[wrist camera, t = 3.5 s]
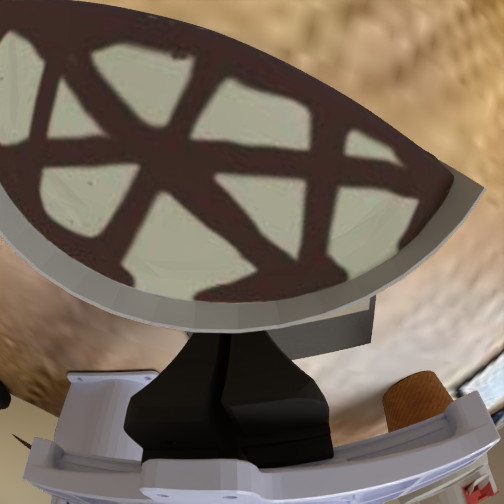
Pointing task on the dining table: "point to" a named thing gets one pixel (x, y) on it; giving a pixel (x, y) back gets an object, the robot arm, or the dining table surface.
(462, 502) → the citrus juicer
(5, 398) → the tape measure
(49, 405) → the dining table surface
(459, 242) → the dining table surface
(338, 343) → the label panel
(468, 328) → the dining table surface
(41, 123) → the food container
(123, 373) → the robot arm
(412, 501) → the disposable coffee cup
